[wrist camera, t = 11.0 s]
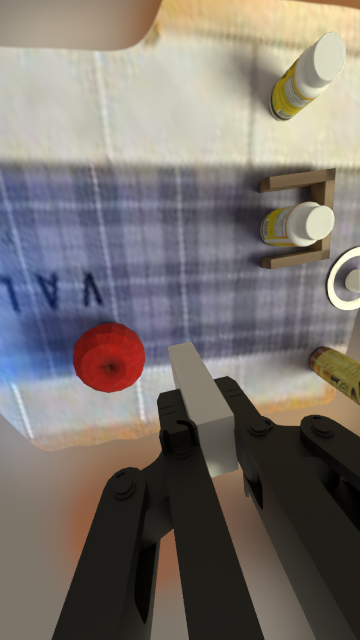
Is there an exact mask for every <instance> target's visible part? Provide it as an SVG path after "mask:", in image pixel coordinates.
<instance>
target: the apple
mask: <svg viewBox="0 0 360 640" xmlns="http://www.w3.org/2000/svg"><path fill="white" fill-rule="evenodd" d="M144 363H145V352H144V347H143V344H142V342H141V340H140V339H139V337H138V336H137V334H136V333H135V332H134V331H132V330H131V329H129V328H127V327H126V326H124V325H123V324H118V323H105V324H100V325H98V326H96V327H94V328H92V329H90V330H88V331H86V332H85V333H84V334H83V335H82V336H81V337H80V338H79V340H78V341H77V342H76V343H75V345H74V354H73V365H74V368H75V371H76V375H77V376H78V377H79V378H80V379H81V380H82V381H83V382H84V384H86V385H87V386H89V387H91V388H93V389H94V390H97V391H102V392H107V393H110V392H116V391H121V390H123V389H125V388H127V387H129V386H131V385H133V384H134V382H135V381H136V380H137V379H138V378H139V377H140V376H141V373H142V371H143V367H144Z"/></svg>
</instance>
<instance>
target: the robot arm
mask: <svg viewBox="0 0 360 640" xmlns="http://www.w3.org/2000/svg"><path fill="white" fill-rule="evenodd" d="M168 351H169V356H170V361H171V367H172V372H173V377H174V383H175V387H176V390H171V391H167V392H163V393H160V395H159V397H158V399H157V406H158V413H159V420H160V427H161V430H160V434H159V439H160V443H161V447H162V451H161V453H160V455H159V457H158V458H157V459H156V460H155V461H154V462H153V463H152V464H150V465H149V466H147V467H146V468H144V469H143V470H141V471H140V470H139V469H138V468H133V467H128V468H125V469H121V470H120V471H118V472H116V473H115V474H114V475H113V476H112V477H111V478H110V479H109V480H108V482H107V484H106V486H105V488H104V490H103V493H102V496H101V499H100V501H99V504H98V507H97V510H96V513H95V516H94V519H93V522H92V525H91V528H90V530H89V533H88V536H87V539H86V542H85V545H84V548H83V550H82V553H81V556H80V559H79V562H78V565H77V568H76V571H75V574H74V577H73V579H72V582H71V585H70V589H69V591H68V594H67V597H66V599H65V602H64V605H63V608H62V611H61V614H60V617H59V620H58V623H57V625H56V628H55V631H54V634H53V637H52V640H150V636H151V628H152V618H153V608H154V598H155V588H156V579H157V569H158V560H159V549H160V540H161V538H162V537H163V536H164V535H166V534H167V533H168V532H169V531H171V530H172V529H173V528H174V535H175V541H176V549H177V556H178V563H179V570H180V578H181V585H182V592H183V599H184V607H185V614H186V621H187V628H188V634H189V640H264V636H263V633H262V630H261V627H260V624H259V621H258V618H257V615H256V612H255V609H254V606H253V603H252V600H251V597H250V594H249V591H248V588H247V585H246V582H245V579H244V576H243V573H242V570H241V567H240V564H239V561H238V558H237V555H236V552H235V549H234V546H233V543H232V539H231V536H230V533H229V531H228V527H227V525H226V521H225V518H224V515H223V512H222V509H221V506H220V503H219V500H218V497H217V494H216V491H215V488H214V485H213V482H212V479H211V477H214V476H218V475H221V474H224V473H228V472H231V471H234V470H238V462H239V464H240V466H241V468H242V470H243V477H244V491H245V495H246V497H249V494H248V493H250V496H251V498H252V500H253V502H254V504H255V506H256V509H257V511H258V513H259V515H260V517H261V520H262V522H263V524H264V526H265V528H266V531H267V533H268V535H269V537H270V539H271V541H272V544H273V546H274V548H275V550H276V552H277V555H278V557H279V559H280V561H281V563H282V565H283V567H284V570H285V572H286V574H287V576H288V578H289V581H290V583H291V585H292V587H293V590H294V592H295V594H296V596H297V598H298V600H299V603H300V605H301V607H302V609H303V611H304V614H305V616H306V618H307V620H308V622H309V625H310V627H311V629H312V631H313V633H314V635H315V638H316V640H360V437H359V436H358V435H356V434H354V433H353V432H351V431H350V430H348V429H347V428H345V427H344V426H342V425H340V424H339V423H337V422H336V421H334V420H332V419H330V418H328V417H325V416H320V415H309V416H306V417H304V418H303V419H302V420H301V425H300V426H281V425H276V424H275V423H274V422H272V421H271V420H270V419H268V418H266V417H264V416H261V415H260V414H259V412H258V411H257V410H256V408H255V407H254V405H253V404H252V403H251V401H250V400H249V399H248V397H247V396H246V395H245V394H244V392H243V391H242V389H240V386H239V385H238V384H237V382H236V381H235V380H233V379H231V378H230V377H228V376H226V377H222V378H218V379H213V378H212V376H211V375H210V373H209V371H208V370H207V368H206V366H205V364H204V363H203V361H202V359H201V358H200V356H199V354H198V352H197V351H196V349H195V347H194V345H193V344H192V342H187V343H183V344H178V345H174V346H169V347H168ZM248 491H249V492H248Z"/></svg>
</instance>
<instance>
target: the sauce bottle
mask: <svg viewBox="0 0 360 640" xmlns="http://www.w3.org/2000/svg"><path fill="white" fill-rule="evenodd" d="M310 368H311V369H312V370H313V371H314V372H315V373H316V374H317V375H318V376H320V377H321V378H322V379H324V380H325V381H327V382H328V383H329V384H331V385H332V386H334V387H335V388H336V389H338V390H339V391H341V392H342V393H343V394H345V395H346V396H348V397H349V398H350V399H352V400H353V401H355V402H356V403H357V404H359V405H360V363H359V362H357V361H356V360H354V359H352V358H350V357H348V356H346V355H344V354H342V353H340V352H339V351H337V350H334V349H332V348H329V347H323V348H319V349H318V350H317V351H315V352H314V353H313V355H312V356H311V358H310Z"/></svg>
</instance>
